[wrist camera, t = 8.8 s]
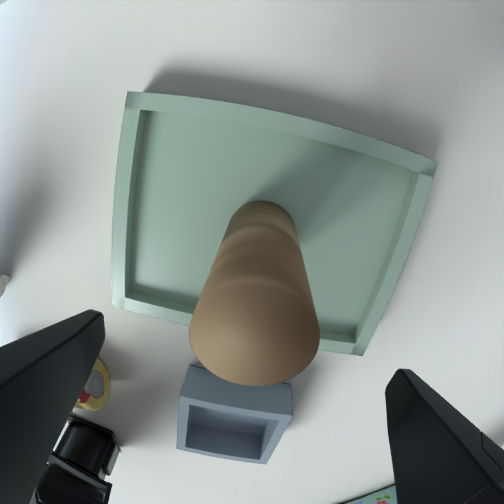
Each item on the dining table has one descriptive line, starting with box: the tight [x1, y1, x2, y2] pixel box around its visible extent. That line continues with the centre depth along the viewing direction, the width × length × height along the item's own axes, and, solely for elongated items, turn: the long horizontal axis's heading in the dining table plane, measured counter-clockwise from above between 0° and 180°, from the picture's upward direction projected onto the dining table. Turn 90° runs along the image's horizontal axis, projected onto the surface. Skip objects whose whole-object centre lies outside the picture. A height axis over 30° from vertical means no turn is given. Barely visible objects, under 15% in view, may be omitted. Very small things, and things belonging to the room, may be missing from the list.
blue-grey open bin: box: [176, 365, 293, 464], centre depth 24 cm, size 9×9×4 cm
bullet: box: [74, 359, 110, 411], centre depth 24 cm, size 14×5×5 cm, turn 99°
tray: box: [111, 91, 437, 356], centre depth 18 cm, size 18×14×2 cm
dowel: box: [189, 200, 320, 386], centre depth 14 cm, size 4×4×10 cm
